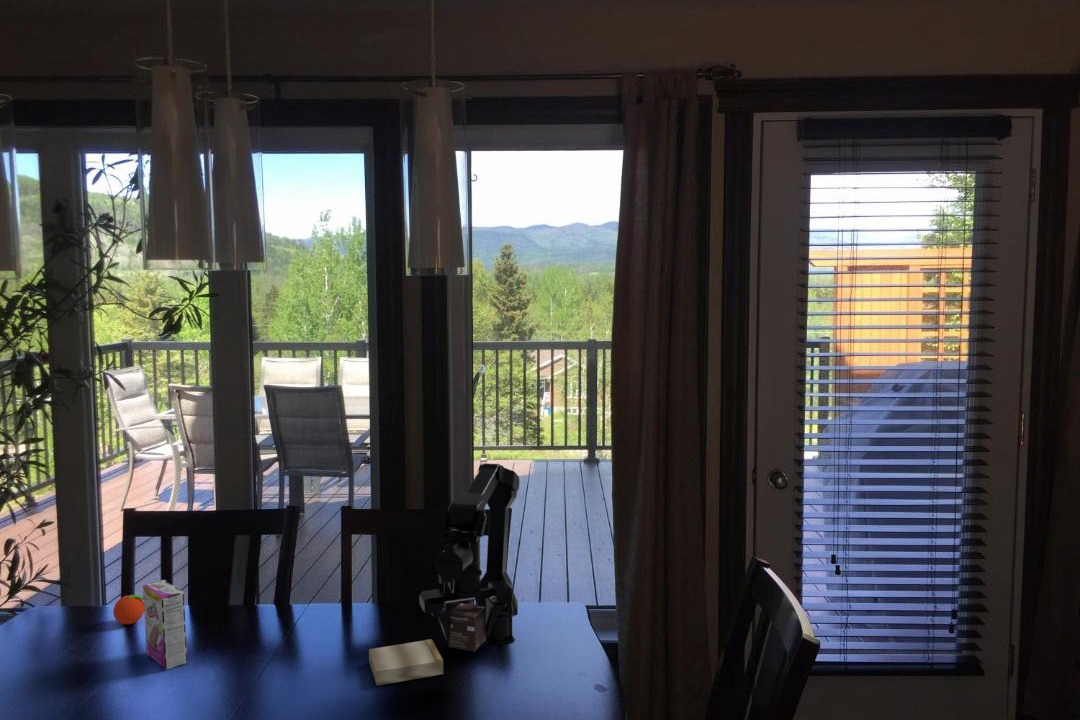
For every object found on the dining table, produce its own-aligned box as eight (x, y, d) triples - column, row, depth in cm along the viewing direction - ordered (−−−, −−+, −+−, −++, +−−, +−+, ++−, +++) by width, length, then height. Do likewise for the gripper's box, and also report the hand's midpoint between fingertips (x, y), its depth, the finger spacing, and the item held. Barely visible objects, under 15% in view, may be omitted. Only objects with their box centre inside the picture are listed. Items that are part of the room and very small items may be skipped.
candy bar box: (144, 655, 174) (141, 584, 173) (167, 648, 178) (164, 578, 177) (164, 672, 167) (161, 597, 166) (188, 663, 171) (185, 591, 169)
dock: (432, 652, 175) (431, 638, 175) (443, 674, 165) (443, 659, 165) (369, 662, 171) (368, 648, 170) (376, 685, 160) (376, 670, 160)
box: (447, 647, 159) (447, 612, 158) (460, 635, 165) (460, 602, 164) (474, 652, 157) (474, 616, 156) (486, 639, 163) (486, 605, 162)
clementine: (152, 615, 197) (151, 588, 196) (146, 626, 190) (145, 598, 190) (117, 619, 195) (116, 591, 194) (110, 630, 188) (109, 602, 188)
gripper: (498, 546, 170) (498, 615, 171) (413, 556, 164) (414, 628, 165) (514, 562, 160) (514, 635, 161) (424, 573, 153) (425, 650, 155)
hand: (467, 636), depth 161 cm, fingers closed on box, 8 cm apart
